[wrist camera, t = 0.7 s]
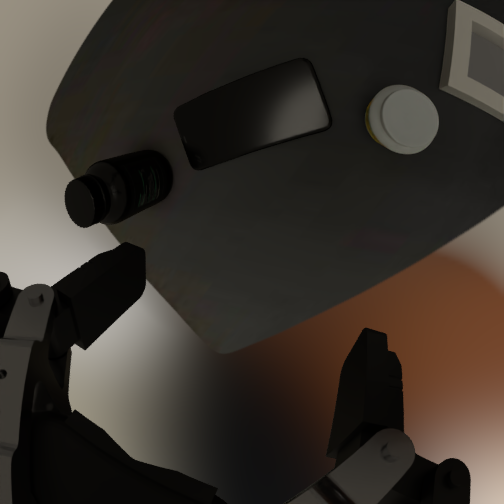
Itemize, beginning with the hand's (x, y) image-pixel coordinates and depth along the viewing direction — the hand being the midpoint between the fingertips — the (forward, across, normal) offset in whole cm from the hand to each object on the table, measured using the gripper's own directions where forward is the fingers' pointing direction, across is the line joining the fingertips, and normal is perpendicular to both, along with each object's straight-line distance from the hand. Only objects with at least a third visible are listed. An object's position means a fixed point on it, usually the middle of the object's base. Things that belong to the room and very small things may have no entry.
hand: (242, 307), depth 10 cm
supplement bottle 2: (+22, -6, -8) cm, 24 cm away
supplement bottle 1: (+22, +19, +5) cm, 29 cm away
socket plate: (+22, -14, -18) cm, 32 cm away
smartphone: (+22, +8, -5) cm, 24 cm away
